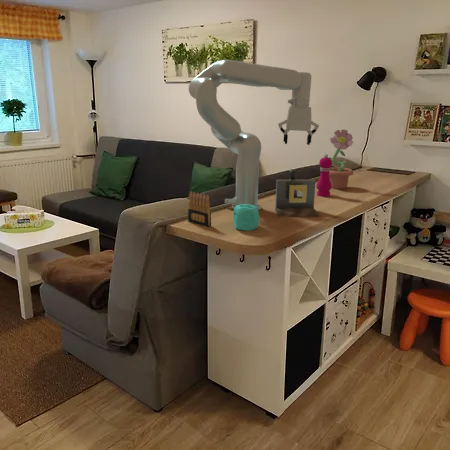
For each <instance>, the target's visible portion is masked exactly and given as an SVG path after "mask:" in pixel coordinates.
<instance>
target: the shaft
mask: <svg viewBox="0 0 450 450" xmlns="http://www.w3.org/2000/svg"><path fill="white" fill-rule="evenodd" d="M288 180H297V169H290V170H289V177H288ZM294 194H295V195H296V196H297V197H302V191H301V190H294Z"/></svg>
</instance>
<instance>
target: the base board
mask: <svg viewBox="0 0 450 450" xmlns="http://www.w3.org/2000/svg"><path fill="white" fill-rule="evenodd" d="M274 211H275V212H276V213H277V215H278V216H279V217H285V218H286V217H287V218H288V217H296V218H297V217H319V216H320V213H319V212H318V211H317V210H316V209H315V207H314V208H276V207H275V208H274Z"/></svg>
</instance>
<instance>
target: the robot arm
mask: <svg viewBox="0 0 450 450" xmlns="http://www.w3.org/2000/svg"><path fill="white" fill-rule="evenodd" d="M223 83H229V84H233V85H234V84H236V85H241V86H249V87H255V88H256V87H258V88H263V87H264V88H265V87H267V88H268V87H269V88H270V87H271V88H276V89H278V90H281V91H291V99H288V100H287V104H290V105H289V107H288V111H287V117H286V119H284V120H283V121H281V122H279V123H278V124H277V125H278V127H279V130H280V131H281V132H282V134H283V143H284V144H285V145H287V144H288V137H289V135H288V133H289V132H290V131H295V132H296V131H299V132H301V131H302V132H304V131H305V132H307V133H308V135H307V137H306V145H307V146H310V145H311V143H312V138H313V137H312V136H313V135H314V134H315V133H316V132H317V130H318V129H319V127H320V125H319V124H318V123H316V122H314V121H313V120H312V107H311V106H310V100H311V86H312V74H311V73H310V72H305V71H301V72H300V71H298V70H295V69H290V68H284V67H278V66H270V65H269V66H268V65H266V64H264V65H263V64H256V63H252V62H251V63H250V62H245V61H240V60H234V59H220V60H217V61H215V62H214V63H212V64H211V65H210V66H209V67H207V68H206V69H204V70H203V71H202V72H200V73H199V74H198V75H196V76H195V77H194V78H193V79H192V80H191V81H190V82H189V85H188V94H189V95H190V96H191V97H192V98H193V99H195V104H196V109H197V111H198V114H199V116H200V117H201V119H202V120H203V121H204V122H205V123H206V124H208V126H209V127H210V130H211V133H212V134H213V136H214V137H215V138H216V139H217V140H218V141H219V142H221V143H222V144H223V145H224V146H225V147H226V148H228V149H229V150H230V151H232V153H235V154H237V158H236V164H235V196H234V197H232V198H224V204H228V205H231V209H233V210H234V208H235V207H236V206H237V205H241V204H250V205H255V206H256V207H257V208H258V211H260V210H261V209H262V205H261V204H260V203H258V202H259V201H258V198H259V173H260V172H259V169H260V167H259V166H260V158H261V152H262V143H261V140H260V139H259V137H258V136H257V135H255V134H253V133H249V132H244V131H242V128H241V124H240V123H239V122H238V120H237V119H236V118H234V117H233V116H232V115H231V114H229V112H227V111H226V110H225V109H224V108H223V106H221V105H220V104H219V102H218V99H217V98H218V97H217V92H218V88H219V86H221V85H222V84H223ZM285 124H286V129H284V128H283V125H285ZM312 126H313V129H312ZM311 129H312V130H311Z"/></svg>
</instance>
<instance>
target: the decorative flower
mask: <svg viewBox="0 0 450 450" xmlns="http://www.w3.org/2000/svg"><path fill="white" fill-rule="evenodd" d="M333 134H334V135H333V137H330V143H331V144H333V147H334V148H336V150H335V152H334V154H333V155H332V157H329V158H330V159H331V160H332V164H334V165H337V166H340V167H330V168H331V169H330V172H329V178H330V181H331V184H332V188H331V189H335V190H342V189H343V190H344V189H346V188H347V187H348V183H349V177H350V176H353V175H354V171H353V169H351V168H347V167H345V164H344V163H346V162H347V160H343V161H342V162H341V161H337V156H338V155H339V153H340V155H341V156H343V157H346V154H345V152H344V150H347V149H348V148H349V147H352V145H353V144H354V141H353V138H354V137H353V135H352V133H349V131H348V130H347V129H337V130H335V131H334V133H333Z"/></svg>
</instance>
